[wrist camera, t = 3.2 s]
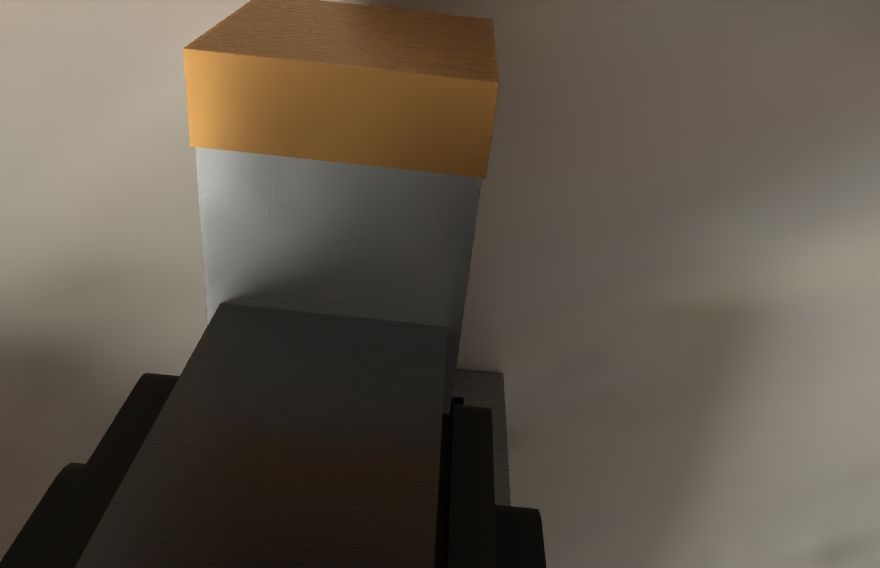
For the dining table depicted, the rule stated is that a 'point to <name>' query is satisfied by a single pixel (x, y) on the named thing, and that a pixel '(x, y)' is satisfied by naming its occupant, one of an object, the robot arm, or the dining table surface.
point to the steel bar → (317, 292)
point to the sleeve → (490, 394)
